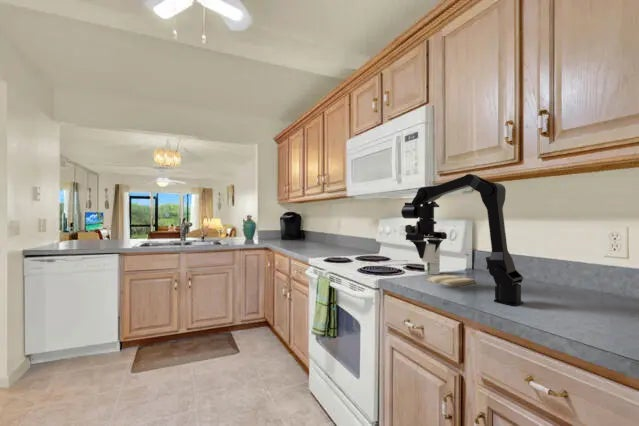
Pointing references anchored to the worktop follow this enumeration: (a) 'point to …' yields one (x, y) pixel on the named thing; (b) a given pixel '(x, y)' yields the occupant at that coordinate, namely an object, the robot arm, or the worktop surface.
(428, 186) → the robot arm
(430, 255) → the white short cylinder
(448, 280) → the birch board
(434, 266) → the syrup box
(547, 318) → the worktop surface
